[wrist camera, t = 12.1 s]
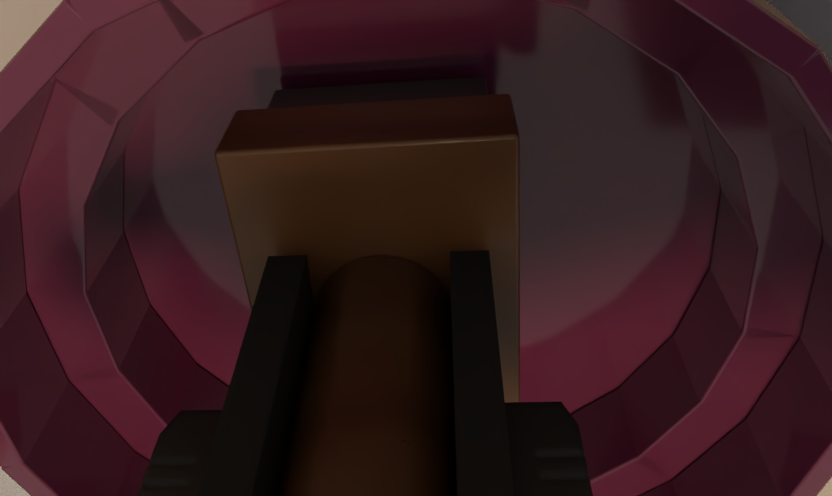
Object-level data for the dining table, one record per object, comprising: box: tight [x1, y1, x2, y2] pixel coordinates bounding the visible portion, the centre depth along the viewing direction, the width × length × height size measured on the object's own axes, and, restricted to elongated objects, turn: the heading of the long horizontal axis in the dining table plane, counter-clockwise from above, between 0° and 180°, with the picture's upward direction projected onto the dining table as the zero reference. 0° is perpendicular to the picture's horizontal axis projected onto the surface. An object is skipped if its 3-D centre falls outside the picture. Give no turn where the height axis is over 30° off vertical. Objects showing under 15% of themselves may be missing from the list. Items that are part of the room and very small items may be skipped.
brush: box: [214, 77, 520, 496], centre depth 13 cm, size 8×6×15 cm
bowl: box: [0, 0, 832, 496], centre depth 19 cm, size 19×19×6 cm
